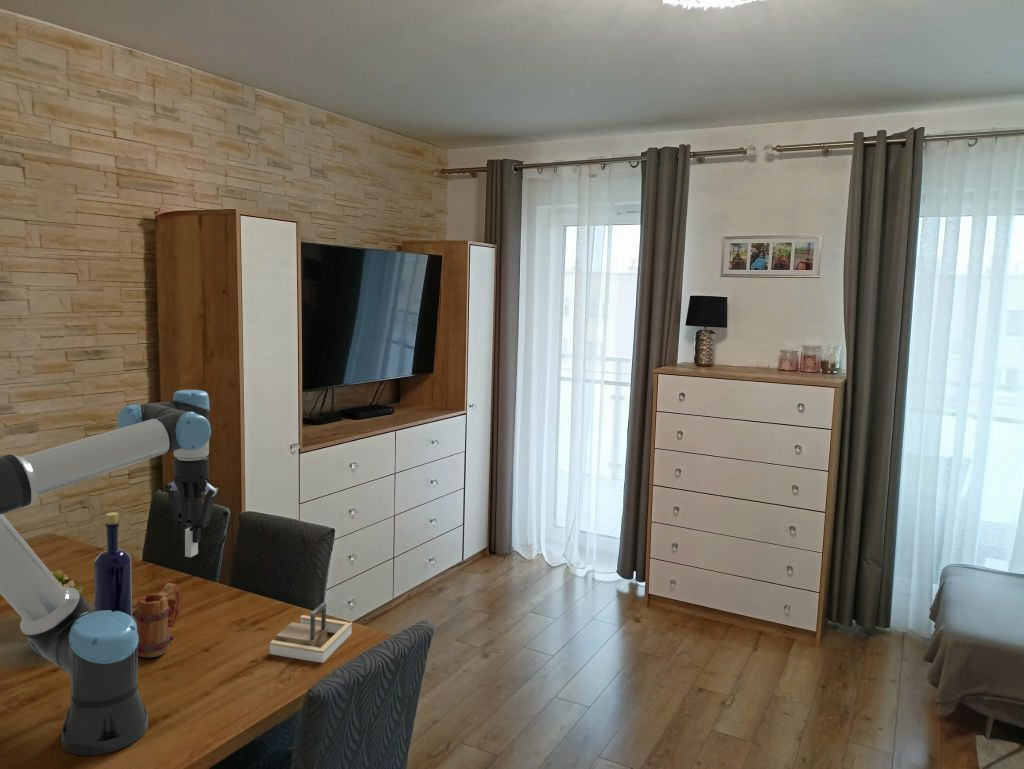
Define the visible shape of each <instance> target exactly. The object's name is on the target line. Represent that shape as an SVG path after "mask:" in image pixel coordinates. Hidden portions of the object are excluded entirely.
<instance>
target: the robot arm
mask: <svg viewBox="0 0 1024 769" xmlns="http://www.w3.org/2000/svg"><path fill="white" fill-rule="evenodd" d="M210 411H211V408H210V398H209V394H208V392H206V391H204V390H199V389H180V390H177V391H175V392H174V393H173V397H172V400H170V401H161V402H151V403H136V404H131V405H126V406H123V407H122V408H121V409H120V410H119V413H118V416H117V426H118V428H116V429H112V430H109V431H105V432H102V433H99V434H96V435H95V434H94V435H92V436H89V437H85V438H82V439H77V440H75V441H71V442H67V443H64V444H61V445H58V446H54V447H51V448H50V447H49V448H47V449H44V450H40V451H37V452H33V453H30V454H26V455H22V456H19V455H16V454H14V453H9V454H5V455H3V456H0V596H2V598H4V600H5V601H6V602H7V603H8V604H9V605H10V606H11V607H12V608H13V610H15V612H16V613H17V614H18V615H19V616H20V617H21V621H20V623H19V627H20V630H21V632H22V633H23V634H24V635H25V637H27V640H28V643H29V645H30V646H31V648H32V649H33V650H34V652H35V653H36V654H38V655H39V656H41V657H43V658H45V659H46V660H48V661H49V662H51V663H53V664H55V665H56V666H57V667H59V668H60V669H62V670H63V671H65V672H66V673H68V674H69V676H70V691H71V692H70V693H71V698H70V699H71V702H70V706H69V709H68V711H67V715H66V717H65V719H64V723H63V726H62V728H61V746H62V747H63V749H64V750H65V751H67V752H69V753H71V754H74V755H78V756H98V755H99V756H100V755H104V754H109V753H113V752H116V751H118V750H121V749H125V748H126V747H128V746H130V745H132V744H134V743H135V742H137V741H138V740H139V739H140V738H142V737H143V735H144V734H145V733H146V731H147V730H148V727H149V726H148V725H149V714H148V711H147V709H146V707H145V706H144V704H143V699H142V697H141V694H140V692H139V682H138V680H139V673H138V672H139V670H138V669H139V665H138V664H139V660H138V659H139V655H138V639H139V638H138V633H137V622H136V621H135V620H134V619H135V618H133V616H132V617H131V616H129V615H128V614H126V613H123V612H119V611H115V612H112V611H111V610H103V611H95V609H93V607H91V605H90V604H89V603H88V601H87V600H86V599H85V598H84V596H82V594H81V593H80V591H78V590H77V589H76V588H74V587H64V586H63V585H62V583H60V581H59V580H58V579H57V578H56V577H55V575H54V574H53V573H52V572H51V571H50V569H49V568H48V567H47V565H46V564H45V563H44V562H43V561H42V559H40V557H39V556H38V554H36V552H35V551H34V550H33V549H32V547H31V546H30V545H29V543H28V542H26V540H25V539H24V537H22V536H21V534H20V533H19V532H18V531H17V530H16V528H15V527H14V526H13V525H12V523H11V522H10V521H9V520H8V518H6V516H5V515H4V514H7V513H10V512H13V511H16V510H18V509H21V508H25V507H26V506H27V507H28V506H30V505H32V503H33V502H34V500H35V498H36V497H40V496H42V495H46V494H48V493H51V492H54V491H58V490H59V489H62V488H67V487H69V486H72V485H74V484H78V483H81V482H85V481H88V480H90V479H93V478H96V477H99V476H103V475H105V474H108V473H111V472H114V471H117V470H120V469H122V468H126V467H130V466H131V465H135V464H138V463H141V462H144V461H147V460H150V459H153V458H155V457H159V456H162V455H165V454H168V453H172V452H173V457H175V458H174V459H173V474H174V475H175V476H174V478H173V481H171V482H170V483H167V484H165V485H164V488H163V489H164V490H165V491H166V493H167V495H168V499H169V504H170V510H171V514H172V519H173V523H174V525H175V526H179V527H181V529H182V531H181V532H182V537H181V538H182V541H183V542H184V557H187V558H192V557H194V556H196V555H198V554H199V542H200V541H201V539H202V538H201V534H202V532H201V531H202V529H203V528H205V527H207V526H208V525H210V520H211V516H212V511H213V506H214V504H215V499H216V496H217V495H218V493H219V492H220V489H219V487H214V486H212V485H211V483H210V479H209V471H210V458H209V454H210V439H211V434H212V427H211V424H210ZM204 495H205V496H204Z"/></svg>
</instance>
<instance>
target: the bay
mask: <svg viewBox="0 0 1024 769" xmlns="http://www.w3.org/2000/svg"><path fill="white" fill-rule="evenodd" d="M321 619H322V617H318V616H315V626H320V627H321ZM348 622H350V621H342V620H337V619H330V618H326V627H327V633H330V634H331V633H332V634H334V635H332V636H331V637H330V638H329V639H327V641H325V643H324V644H322V645H321V647H312V646H306V645H299V644H293V643H287V642H281V641H276V639H275V640H274V639H272V640H271V641H270V642H269V655H272V656H280V657H284V658H291V659H297V660H304V661H310V662H315V663H316V662H317V663H321V664H323V663H325V662H326V660H328V658H329V657H330V656H332V655H333V653H334V652H335V651H336V650H337V649H338V648H339V647H340V646H341V645H342V644H344V642H345V641H346V640H347V639H348V638H350V636H351V635H352V630H353V629H352V628H353V627H352V626H353V622H350V623H348ZM299 623H301V624H307V625H310V623H311V617H310V615H303V614H302V615H301V616H300V617H299Z"/></svg>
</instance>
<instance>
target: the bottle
mask: <svg viewBox="0 0 1024 769" xmlns="http://www.w3.org/2000/svg"><path fill="white" fill-rule="evenodd" d="M105 514H106V515H105V516H106V517H105V518H106V522H105V529H106V546H107V547H106V549H107V550H104V551H101V552H100V553H99V554H98V555H97V557H95V560H94V566H93V571H94V572H93V573H94V575H93V576H94V577H93V578H94V611H103V610H111V611H112V612H115V611H119V612H123V613H126V614H128V615H129V616H131V617H132V618H133V616H132V613H133V609H132V607H133V606H132V605H133V603H132V601H133V600H132V556H131V555H130V554H129V552H127V550H125V549H121V548H119V527H120V521H119V512H115V511H113V512H107V513H105Z"/></svg>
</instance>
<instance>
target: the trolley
mask: <svg viewBox="0 0 1024 769" xmlns="http://www.w3.org/2000/svg"><path fill="white" fill-rule="evenodd" d="M320 613H321V618H322V619H321V627H320V626H315V617H317V616H318V615H319V614H320ZM309 616H310V617H311V623H310V625H307V624H301V623H300V622H294V621H293V622H290V623H289V624H288V625H287V626H285V628H283V629H282V630H281V631H279V632H278V633H277V634H276V635H275V641H281V642H287V643H293V644H299V645H306V646H312V647H318V648H320V646H322V645H323V643H324V642H326V640H328V632H327V627H326V619H327V602H322V603H320V605H318V606H317V607H316V608H315V609H314V610H312V611H311V612H310V615H309Z"/></svg>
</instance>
